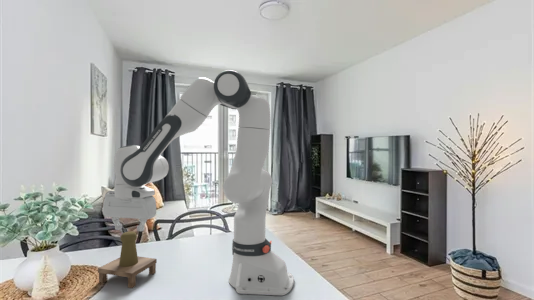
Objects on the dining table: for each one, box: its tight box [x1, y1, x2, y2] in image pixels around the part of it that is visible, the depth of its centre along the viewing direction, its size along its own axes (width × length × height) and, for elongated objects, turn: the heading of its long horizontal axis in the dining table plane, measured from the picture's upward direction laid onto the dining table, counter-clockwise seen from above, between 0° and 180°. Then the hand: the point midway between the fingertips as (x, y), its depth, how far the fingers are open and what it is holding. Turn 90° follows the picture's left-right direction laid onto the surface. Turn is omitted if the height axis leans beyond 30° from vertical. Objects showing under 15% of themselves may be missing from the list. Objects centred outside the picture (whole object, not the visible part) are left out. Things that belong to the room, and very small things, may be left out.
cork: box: [119, 230, 138, 267], centre depth 95 cm, size 6×6×11 cm
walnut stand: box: [97, 255, 157, 289], centre depth 95 cm, size 14×12×5 cm
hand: (129, 230), depth 95 cm, fingers open, 8 cm apart
